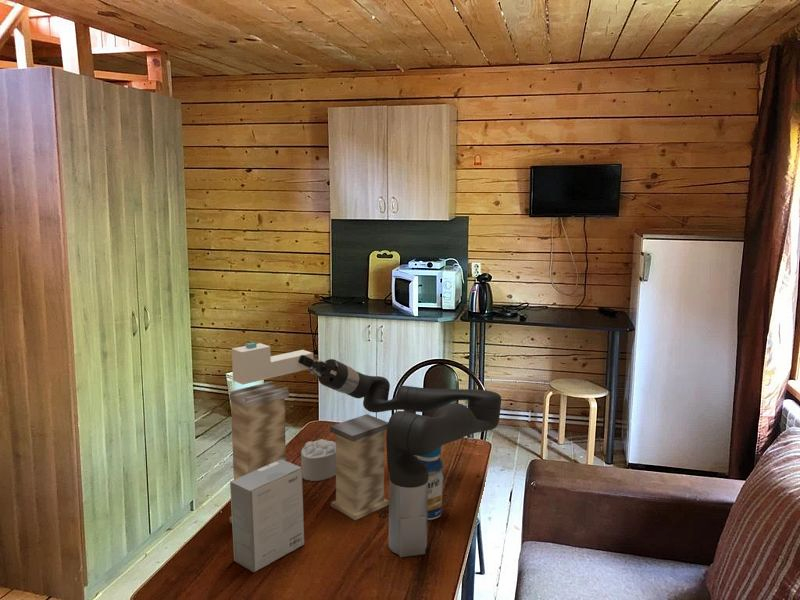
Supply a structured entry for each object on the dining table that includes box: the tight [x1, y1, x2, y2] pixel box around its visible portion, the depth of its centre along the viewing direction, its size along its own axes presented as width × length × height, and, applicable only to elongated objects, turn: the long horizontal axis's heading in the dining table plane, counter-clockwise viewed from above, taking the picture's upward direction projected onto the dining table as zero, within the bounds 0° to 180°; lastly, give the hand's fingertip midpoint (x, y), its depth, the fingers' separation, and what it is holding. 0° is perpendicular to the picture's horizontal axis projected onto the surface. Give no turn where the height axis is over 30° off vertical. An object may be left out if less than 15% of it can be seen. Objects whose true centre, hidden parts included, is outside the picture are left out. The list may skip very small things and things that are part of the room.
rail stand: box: [229, 380, 290, 524], centre depth 166 cm, size 13×9×35 cm
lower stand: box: [329, 414, 389, 521], centre depth 175 cm, size 13×10×23 cm
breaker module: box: [231, 341, 314, 386], centre depth 165 cm, size 21×4×9 cm, turn 135°
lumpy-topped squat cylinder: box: [300, 438, 336, 482], centre depth 197 cm, size 10×13×9 cm
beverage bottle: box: [415, 446, 444, 521], centre depth 172 cm, size 8×8×20 cm
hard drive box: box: [229, 459, 305, 573], centre depth 153 cm, size 16×8×20 cm, turn 141°
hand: (294, 356), depth 170 cm, fingers closed on breaker module, 4 cm apart
